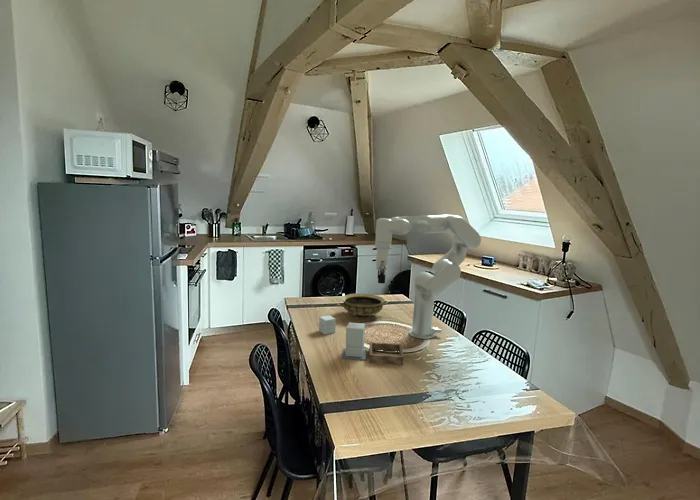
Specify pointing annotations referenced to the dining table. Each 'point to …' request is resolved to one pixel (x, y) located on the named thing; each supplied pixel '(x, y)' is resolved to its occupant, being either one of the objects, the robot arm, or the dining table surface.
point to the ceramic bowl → (362, 304)
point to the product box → (327, 324)
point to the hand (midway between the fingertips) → (381, 280)
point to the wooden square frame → (386, 358)
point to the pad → (353, 356)
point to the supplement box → (355, 339)
